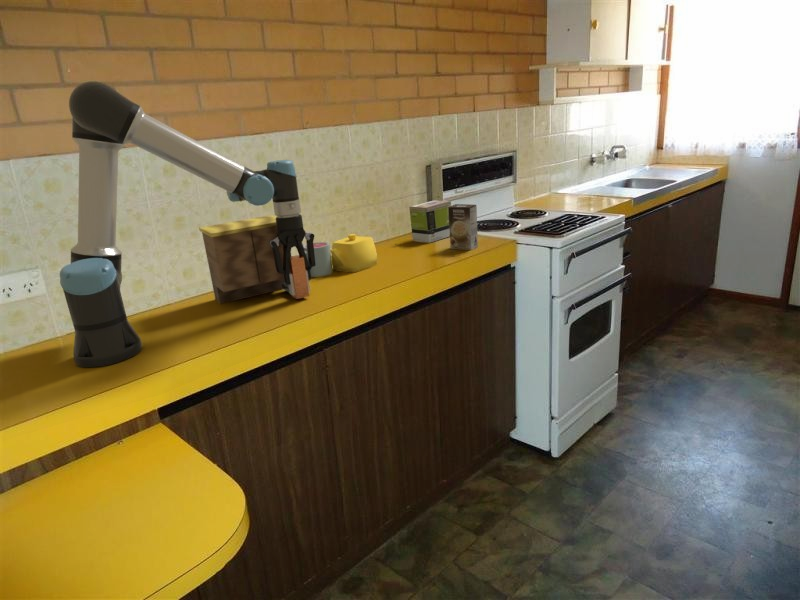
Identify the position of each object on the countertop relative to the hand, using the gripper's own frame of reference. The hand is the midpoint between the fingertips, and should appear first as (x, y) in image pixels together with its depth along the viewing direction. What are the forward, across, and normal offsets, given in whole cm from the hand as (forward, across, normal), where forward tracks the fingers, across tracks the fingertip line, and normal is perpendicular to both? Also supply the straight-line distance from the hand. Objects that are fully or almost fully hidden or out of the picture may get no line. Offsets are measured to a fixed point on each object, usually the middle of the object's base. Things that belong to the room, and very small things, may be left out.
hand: (300, 292), depth 172 cm
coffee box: (+2, +71, +13) cm, 73 cm away
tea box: (+2, +73, +37) cm, 82 cm away
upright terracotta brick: (+1, 0, +5) cm, 5 cm away
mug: (+2, +14, +23) cm, 27 cm away
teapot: (+2, +28, +21) cm, 35 cm away
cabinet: (+2, -10, +15) cm, 18 cm away
